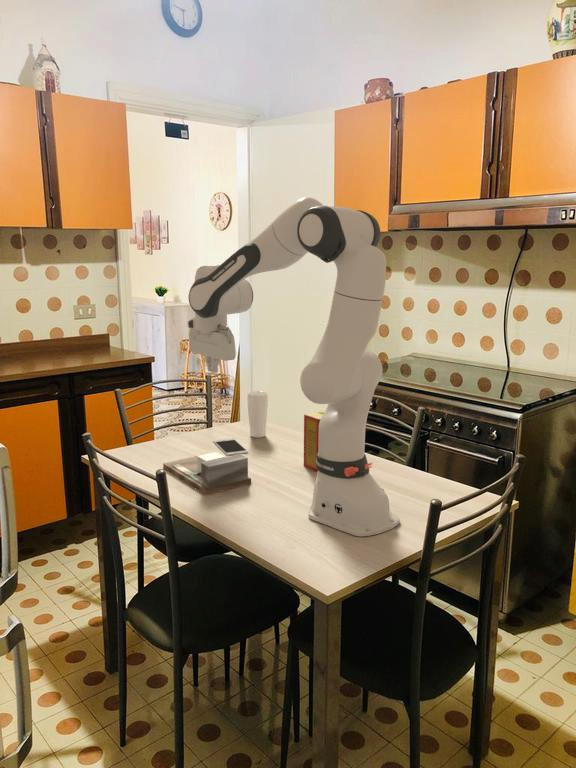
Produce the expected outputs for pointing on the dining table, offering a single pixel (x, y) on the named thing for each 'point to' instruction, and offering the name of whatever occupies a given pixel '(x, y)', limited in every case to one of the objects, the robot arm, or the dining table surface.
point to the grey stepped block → (212, 473)
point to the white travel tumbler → (257, 413)
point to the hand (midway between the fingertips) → (212, 372)
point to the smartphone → (230, 447)
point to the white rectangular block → (206, 458)
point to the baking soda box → (311, 438)
